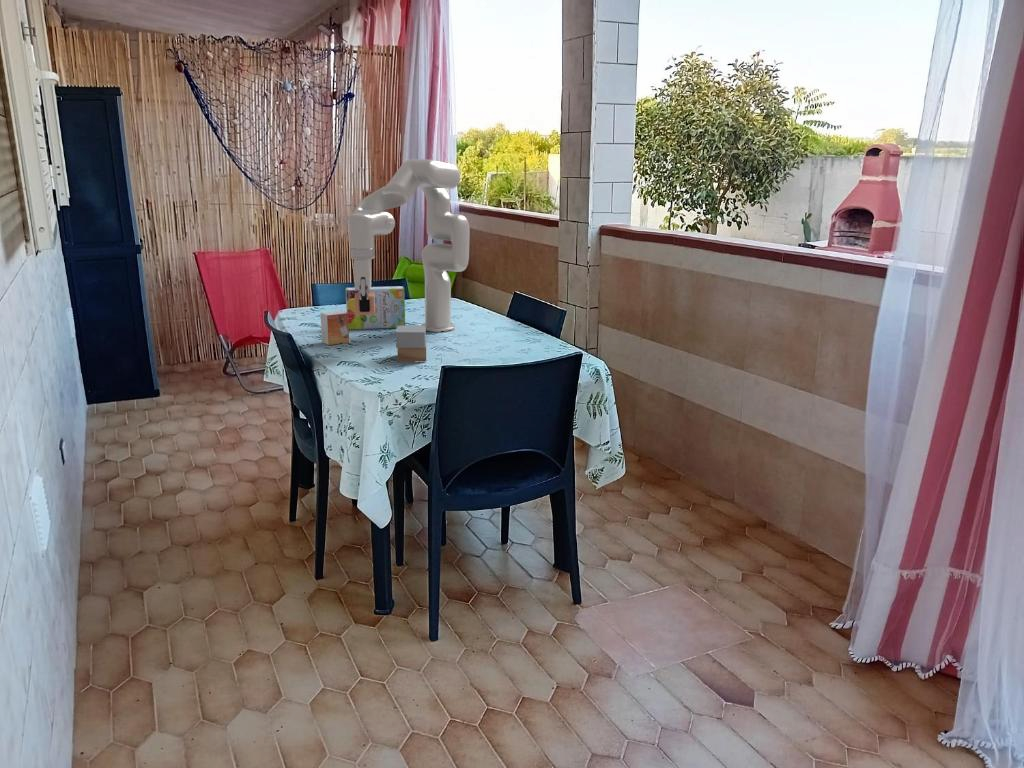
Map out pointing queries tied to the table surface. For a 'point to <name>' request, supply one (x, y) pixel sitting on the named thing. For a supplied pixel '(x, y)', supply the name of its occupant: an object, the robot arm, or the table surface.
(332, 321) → the small box
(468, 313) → the table surface
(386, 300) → the snack box
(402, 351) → the tower bottom block
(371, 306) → the terracotta cube
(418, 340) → the tower top block
